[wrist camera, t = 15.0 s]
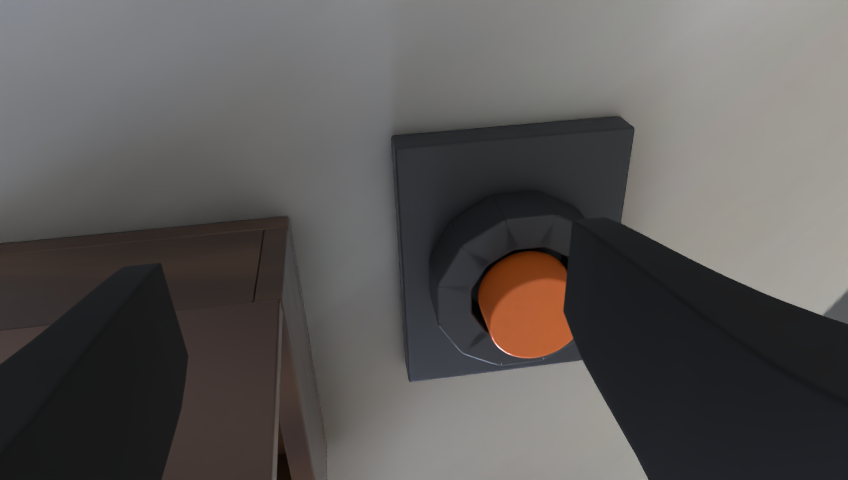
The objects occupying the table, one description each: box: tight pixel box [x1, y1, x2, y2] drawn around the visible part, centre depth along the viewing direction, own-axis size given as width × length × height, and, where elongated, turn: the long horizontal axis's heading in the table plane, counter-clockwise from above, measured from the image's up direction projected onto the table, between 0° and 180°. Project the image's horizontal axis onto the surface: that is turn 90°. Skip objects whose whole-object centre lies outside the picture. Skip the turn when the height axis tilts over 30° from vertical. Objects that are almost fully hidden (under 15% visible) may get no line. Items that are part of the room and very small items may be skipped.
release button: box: [478, 251, 573, 358], centre depth 21 cm, size 3×3×2 cm
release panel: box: [391, 117, 634, 382], centre depth 22 cm, size 10×8×3 cm
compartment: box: [0, 216, 327, 480], centre depth 22 cm, size 12×13×5 cm
